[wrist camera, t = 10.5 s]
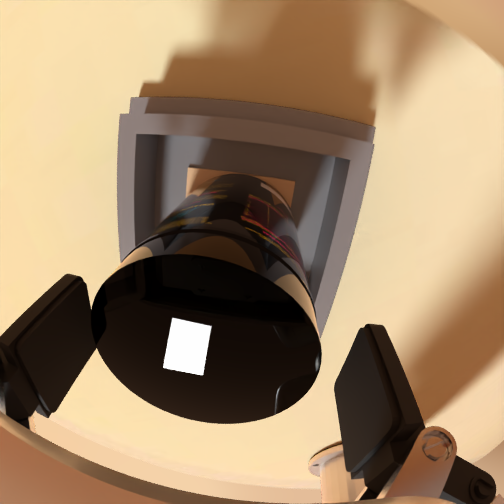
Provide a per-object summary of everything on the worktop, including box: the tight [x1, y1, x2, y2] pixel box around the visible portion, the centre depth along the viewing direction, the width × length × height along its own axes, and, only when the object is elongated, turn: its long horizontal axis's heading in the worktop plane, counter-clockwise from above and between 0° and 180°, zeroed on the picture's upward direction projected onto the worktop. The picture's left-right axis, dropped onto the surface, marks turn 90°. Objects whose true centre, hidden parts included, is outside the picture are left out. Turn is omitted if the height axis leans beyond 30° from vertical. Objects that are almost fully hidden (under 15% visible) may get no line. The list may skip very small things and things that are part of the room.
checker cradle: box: [117, 97, 375, 338], centre depth 18 cm, size 14×22×5 cm, turn 173°
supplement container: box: [91, 174, 322, 424], centre depth 12 cm, size 7×7×10 cm
